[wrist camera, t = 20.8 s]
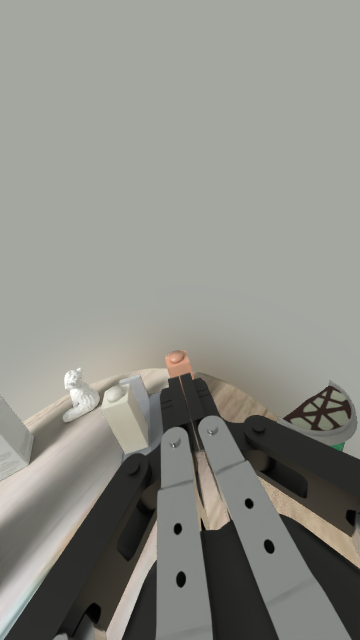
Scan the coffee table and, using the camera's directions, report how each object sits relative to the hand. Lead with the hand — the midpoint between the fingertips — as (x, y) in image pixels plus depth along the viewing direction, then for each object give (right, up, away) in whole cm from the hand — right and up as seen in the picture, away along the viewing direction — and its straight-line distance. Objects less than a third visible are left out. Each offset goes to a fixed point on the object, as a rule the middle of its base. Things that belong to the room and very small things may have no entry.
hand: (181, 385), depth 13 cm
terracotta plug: (+2, -15, +33) cm, 36 cm away
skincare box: (-36, -27, +32) cm, 55 cm away
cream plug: (-8, -20, +27) cm, 35 cm away
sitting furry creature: (-25, -19, +42) cm, 52 cm away
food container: (+23, -17, +19) cm, 34 cm away
